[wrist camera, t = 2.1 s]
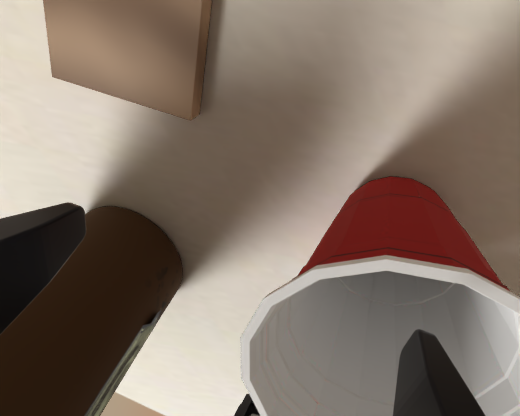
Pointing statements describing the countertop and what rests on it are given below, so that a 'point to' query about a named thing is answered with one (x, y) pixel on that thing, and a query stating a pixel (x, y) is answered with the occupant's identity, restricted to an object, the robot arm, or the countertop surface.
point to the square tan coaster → (132, 49)
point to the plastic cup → (383, 311)
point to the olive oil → (89, 319)
